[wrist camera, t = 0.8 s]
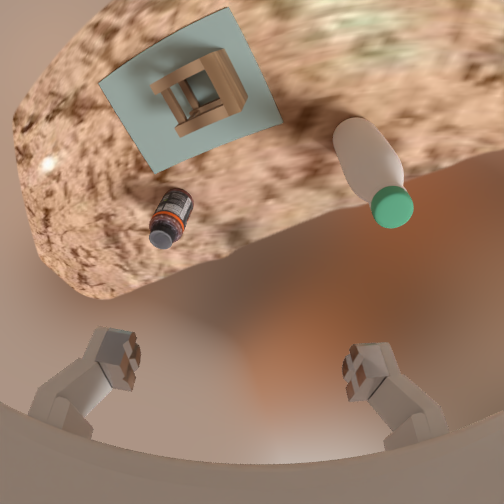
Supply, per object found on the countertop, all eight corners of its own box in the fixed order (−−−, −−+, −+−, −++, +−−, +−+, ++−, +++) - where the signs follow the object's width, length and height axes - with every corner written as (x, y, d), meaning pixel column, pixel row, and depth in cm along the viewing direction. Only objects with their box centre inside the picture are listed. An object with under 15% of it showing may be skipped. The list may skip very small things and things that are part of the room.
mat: (228, 7, 29) (228, 7, 28) (283, 122, 41) (283, 123, 41) (99, 82, 37) (98, 83, 36) (155, 173, 49) (154, 174, 49)
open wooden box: (224, 48, 33) (211, 52, 27) (248, 96, 38) (241, 111, 32) (171, 74, 36) (149, 85, 30) (196, 118, 41) (179, 138, 35)
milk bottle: (322, 143, 43) (343, 220, 28) (350, 106, 38) (393, 165, 23) (359, 168, 45) (393, 250, 30) (387, 134, 40) (440, 205, 25)
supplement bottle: (185, 218, 56) (168, 259, 47) (159, 203, 54) (138, 242, 45) (200, 198, 52) (183, 239, 44) (172, 181, 50) (150, 219, 42)
